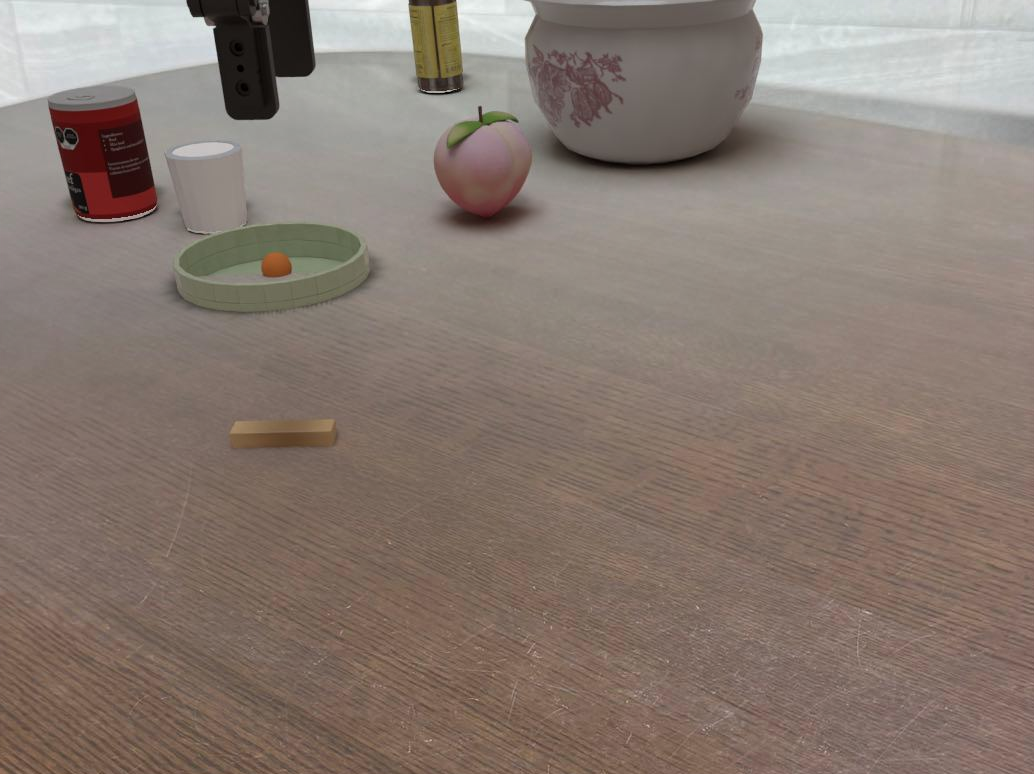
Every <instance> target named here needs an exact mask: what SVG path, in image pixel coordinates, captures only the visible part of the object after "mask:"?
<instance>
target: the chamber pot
mask: <svg viewBox="0 0 1034 774" xmlns="http://www.w3.org/2000/svg"><path fill="white" fill-rule="evenodd" d="M524 1H525V2H529V3H530V4H531V6H532V10H533V11H534V17H533V19H532V21H531V24H530V25H529V28H528V30H527V32H526V34H525V37H524V56H525V67H526V71H527V76H528V80H529V84H530V88H531V93H532V97H533V101H534V103H535V105H536V106H537V108H538V110H539V111H540V113H541V114H542V116H543V118H544V119H545V121H546V123H547V124H548V125H549V128H550V129H551V130H552V132H553V134H554V135H555V137H556V138H557V139H558V140H559V141H560V143H562V144H563V145H564V146H565V148H567V149H568V150H569V151H571V152H574V153H576V154H578V155H581V156H583V157H586V158H589V159H593V160H595V161H598V162H604V163H609V164H616V165H627V166H645V165H646V166H648V165H649V166H650V165H660V164H662V165H663V164H670V163H675V162H680V161H684V160H687V159H690V158H692V157H695V156H698V155H700V154H703V153H705V152H709V151H711V150H713V149H715V148H716V147H717V146H718V145H720V144H721V143H722V142H723V141H724V140H725V139H726V138H727V137H728V136H729V135H730V133H731V132H732V130H733V129H734V128H735V126H736V124H737V122H738V121H739V120H740V118H741V116H742V114H743V113H744V111H745V110H746V108H747V107H748V105H749V103H750V102H751V100H752V99H753V95H754V92H755V91H754V90H755V87H756V82H757V79H758V75H759V71H760V67H761V64H762V54H763V39H764V33H763V30H762V29H763V28H762V26H761V24H760V22H759V20H758V18H757V15H756V12H755V10H754V7H755V4H756V2H757V0H524Z"/></svg>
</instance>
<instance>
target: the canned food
mask: <svg viewBox="0 0 1034 774" xmlns="http://www.w3.org/2000/svg"><path fill="white" fill-rule="evenodd" d="M47 107H48V112H49V115H50V120H51V124H52V128H53V129H52V130H53V132H54V136H55V141H56V144H57V149H58V153H59V156H60V160H61V164H62V169H63V173H64V177H65V182H66V184H67V189H68V192H69V197H70V201H71V205H72V209H73V211H74V213H75V215H76V216H77V215H79V216H81V217H85V218H91V219H112V218H121V217H128V216H133V215H137V214H140V213H144V212H146V211H149V210H151V209H153V208H154V207H155V206H156V205H157V206H158V193H157V189H156V185H155V180H154V175H153V170H152V164H151V159H150V155H149V150H148V149H149V148H148V144H147V140H146V139H147V138H146V135H145V129H144V124H143V120H142V115H141V108H140V107H139V102H138V97H137V95H136V91H135V89H133V88H131V87H128V86H122V85H96V86H94V85H93V86H85V87H77V88H70V89H66V90H61V91H59V92H56V93H53V94H51V95H50V96H48V98H47Z"/></svg>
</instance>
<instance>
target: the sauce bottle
mask: <svg viewBox="0 0 1034 774" xmlns="http://www.w3.org/2000/svg"><path fill="white" fill-rule="evenodd" d="M407 6H408V14H409V22H410V23H409V24H410V32H411V39H412V49H413V57H414V66H415V67H414V68H415V75H416V78H417V88H418V87H419V88H420V89H422V90H425V91H447V90H453V89H458V88H460V89H461V88H463V87H464V77H463V72H464V65H463V64H464V63H463V57H462V46H461V45H462V44H461V35H460V23H459V14H458V13H459V12H458V3H457V0H408V5H407ZM419 88H418V89H419Z"/></svg>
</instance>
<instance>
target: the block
mask: <svg viewBox="0 0 1034 774" xmlns="http://www.w3.org/2000/svg"><path fill="white" fill-rule="evenodd" d="M337 435H338V430H337V423H336V419H335V418H321V419H279V420H277V419H276V420H274V419H273V420H236V421H235V422H234V424H233V425H232V427H231V430H230V431H229V438H230V443H231V448H232V449H242V448H243V449H245V448H246V449H248V448H291V447H293V448H295V447H332V446H334V444H335V441H336V439H337Z"/></svg>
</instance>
